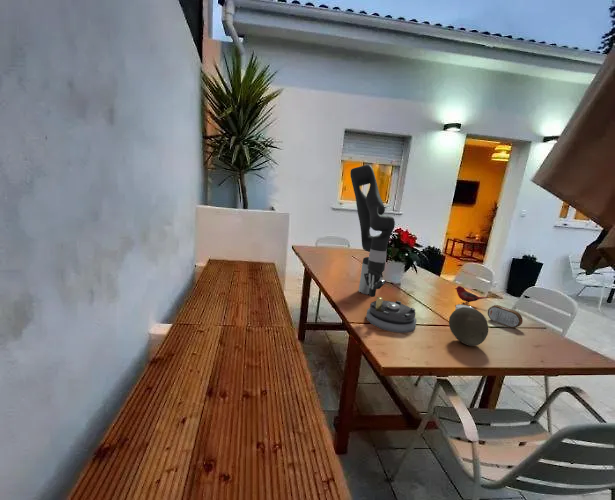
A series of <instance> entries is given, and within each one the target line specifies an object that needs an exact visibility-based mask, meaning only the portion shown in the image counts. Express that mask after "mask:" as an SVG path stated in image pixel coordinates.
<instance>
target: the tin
mask: <svg viewBox="0 0 615 500" xmlns="http://www.w3.org/2000/svg"><path fill="white" fill-rule="evenodd" d="M487 316H488V318H489V319H490V320H491V321H493V322H494V323H497V324H499V325H502V326H505V327H507V328H510V329H516V328H519V327H520V326H521V325H522V324H523V322H524V321H523V320H524V319H523V317H522V315H521V314H520V312H518V311H516V310H513V309H511V308H508V307H505V306H502V305H498V304H495V305H492V306H490V307H489V308H488V310H487Z"/></svg>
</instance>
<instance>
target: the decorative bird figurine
mask: <svg viewBox="0 0 615 500" xmlns="http://www.w3.org/2000/svg"><path fill="white" fill-rule="evenodd" d="M454 289H455V290H456V294H457V296H458V297H459V299H460V300H462V301H463V302H461V301H460V303H461V304H462V305H470V303H471V302H476V301H478V300H482V299H483V300H484V299H489V297H487V296H478V295H476V294H474V293H473V292H470V291H467V290H466V289H465V287H463V286H461V285H459V286H458V285H457V287H456V288H454Z"/></svg>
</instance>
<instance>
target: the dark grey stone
mask: <svg viewBox="0 0 615 500" xmlns="http://www.w3.org/2000/svg"><path fill="white" fill-rule="evenodd" d="M455 309H456V308H455ZM455 309H454V310H453V312H452V313H451V314H450V315H449V318H448V325H449V326H448V327H449V330H450V331H451V333H452V335H453V336H454V337H455V339H457V340H458V341H460V342H461V343H462V344H464V345H467V346H470V347H475V346H478V345H481V344H482V343H483V342H484V341H485V340H486V339H487V337H488V334H489V323H488V320H487V318H486V317H485V315H484V314H483V313H482V312H481V311H479V310H478V309H475V308H474V309H473V307H472V308H466V307H462V308H459V309H456V310H455Z"/></svg>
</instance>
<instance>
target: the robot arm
mask: <svg viewBox="0 0 615 500" xmlns="http://www.w3.org/2000/svg"><path fill="white" fill-rule="evenodd" d="M350 179H351V184H352V188H353V193H354V197H355V202H356V210H357V217H358V221H359V227H360V237H361V238H360V239H361V247H362V249H363V251H366V252H369V254H368V256H365V257H363V258H362V263H361V264H362V265H361V271H360V279H359V285H358V292H359V293H360V292H361V293H360V294H363V295H368V294H369V295H368V296H369V297H370V298H374V297H376V292H377V290H380V289H381V288H382V287H383V286H384V285H385V284H386V283H387V282H386V280H385V279H384V278H383V272H384V271H385V268H386V261H387V251H388V246H389V245H388V244H389V240H390V238H391V236H392V234H393V231H394V229H395V226H396V222H395V218H394V217H393V216H392V215H388V214H384V213H385V212H386V207H385V205H384V202H383V199H382V198H381V195H380V191H379V187H378V182H377V178H376V175H375V172H374V169H373V167H372V165H370V164H364V165H361V166H357V167H354V168H351V169H350ZM365 185H369V189H368V192H367V194H366V195H365V193H364V192H363V191H362V189H361V188H360V187H362V186H365ZM370 229H372V230H373V231H375V232H376V231H377V232H381V233H380V234H379V235H375V236H374V235H371V230H370Z"/></svg>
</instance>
